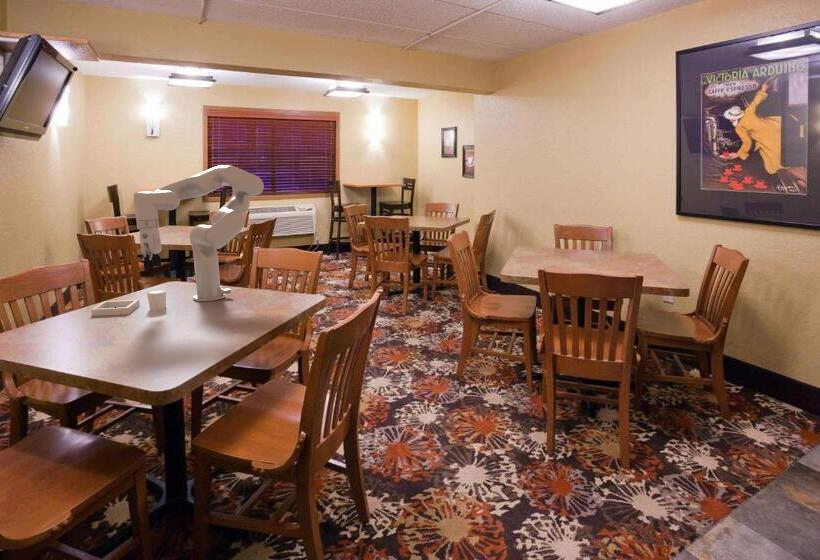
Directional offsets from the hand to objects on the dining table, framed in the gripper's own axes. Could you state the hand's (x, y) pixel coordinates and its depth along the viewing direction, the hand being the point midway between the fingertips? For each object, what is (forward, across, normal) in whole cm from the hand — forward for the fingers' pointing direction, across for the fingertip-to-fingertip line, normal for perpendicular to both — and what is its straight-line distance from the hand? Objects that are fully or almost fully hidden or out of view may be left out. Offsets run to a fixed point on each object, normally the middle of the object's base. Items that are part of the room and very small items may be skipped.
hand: (153, 268), depth 193 cm
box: (+16, -1, +15) cm, 22 cm away
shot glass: (+17, 0, 0) cm, 17 cm away
